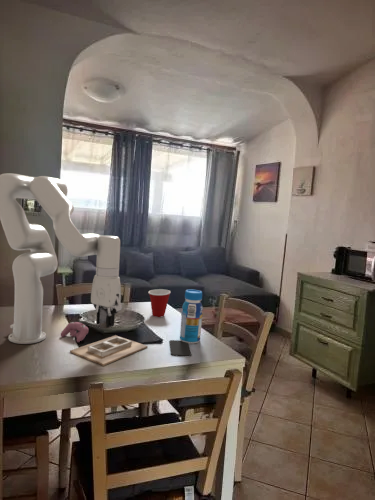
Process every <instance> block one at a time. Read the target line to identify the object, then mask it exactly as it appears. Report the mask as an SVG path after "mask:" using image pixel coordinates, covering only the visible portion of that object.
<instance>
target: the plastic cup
mask: <svg viewBox="0 0 375 500" xmlns="http://www.w3.org/2000/svg"><path fill="white" fill-rule="evenodd" d="M148 294H149V298H150V307H151V315H152V317H157V318H162V317H165V314H166V311H167V307H168V303H169V299H170V294H171V290H168V289H163V288H159V289H158V288H157V289H151V290H149V291H148Z"/></svg>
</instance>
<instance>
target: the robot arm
mask: <svg viewBox="0 0 375 500" xmlns="http://www.w3.org/2000/svg"><path fill="white" fill-rule="evenodd" d="M67 195H68V186H67V185H66V183H65V182H64V181H63V180H62V179H60V178H58V177H51V176H47V175H40V176H30V175H24V174H19V173H12V172H11V173H10V172H9V173H7V172H6V173H2V174H0V223H1V225H2V229H3V232H4V235H5V237H6V240H7V244H8V245H9V247H10V248H11V249H12V250H15V251H28V250H30V252H24V253H22V254H19V255H18V256H16V257H15V258H14V260H13V262H12V266H11V267H12V275H13V281H14V302H13V303H14V305H13V323H12V324H10V325H9V328H10V329H12V333H10V334H9V335H8V341H9V342H10V343H13V344H20V345H28V344H37V343H39V342H42V341H44V340H45V339H46V338H47V333H46V332H44V331H42V329H43V307H44V306H43V305H44V303H43V302H44V287H43V283H42V280H41V278H42V277H46V276H50V275H52V274H54V273H55V272H56V271H57V269H58V264H59V263H58V257H57V253H56V251H55V249H54V245H53V242H52V240H51V239H52V238H51V237H50V234H49V233H48V230H47V229H46V228H45V227H44V226H42V225H40V224H37V223H30V222H29V220H28V218H27V216H26V215H27V214H26V212H25V210H24V208H23V206H22V205H21V204H20V203H19V202H18V201H17V199H24V200H35V201H37V203H38V204H39V205H40V206H41V207H42V209H43V210H44V211H45V212H46V214H47V215H48V217H50V219H51V220H52V224H53V225H52V226H53V231H54V234H55V236H56V238H57V240H58V241H59V243H61V245H62V246H63V247H64V249H65V250H66V251H67V252H68V253H69V254H70V255H72V256H74V257H77V258H80V257H81V258H82V257H87V256H94V255H95V256H96V265H95V266H96V267H95V275H94V276H93V278H92V279H93V280H92V285H91V292H90V303H91V304H92V305H93V307H94V309H95V310H94V311H95V313H96V325H99V317H100V308H101V307H107V308H108V316H107V319H106V327H110V328H111V327H114V326H115V316H116V315H117V313H118V312H119V311H121V310H123V305H122V303H121V300H122V290H121V289H122V287H121V286H122V285H121V278H120V276H119V275H120V260H121V259H120V256H121V255H120V254H121V239H120V237H119V236H115V235H102V234H98V233H95V232H94V233H93V232H92V233H81V232H80V231H79V229H78V228H77V227H76V226H75V224H74V222H73V221H72V220H71V215H72V214H73V213H74V210H75V208H74V204H73V203H72V202H71V201H70V200H69V198H68V197H67ZM111 308H112V311H111Z"/></svg>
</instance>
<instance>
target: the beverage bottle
mask: <svg viewBox="0 0 375 500" xmlns="http://www.w3.org/2000/svg"><path fill="white" fill-rule="evenodd" d="M184 292H185V293H184V299H185V300H184V302H183V303H182V306H181V309H182V311H181V312H180V313H181V314H180V316H181V317H180V330H179V331H180V333H179V341H183V342H186V343H188V344H197V343H199V342H200V341H201V336H202V335H201V330H202V321H203V317H204V316H203V310H204V309H203V308H204V306H203V305H202V302H201V301H202V300H203V291H202V290H198V289H192V288H191V289H186V290H185V291H184Z"/></svg>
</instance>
